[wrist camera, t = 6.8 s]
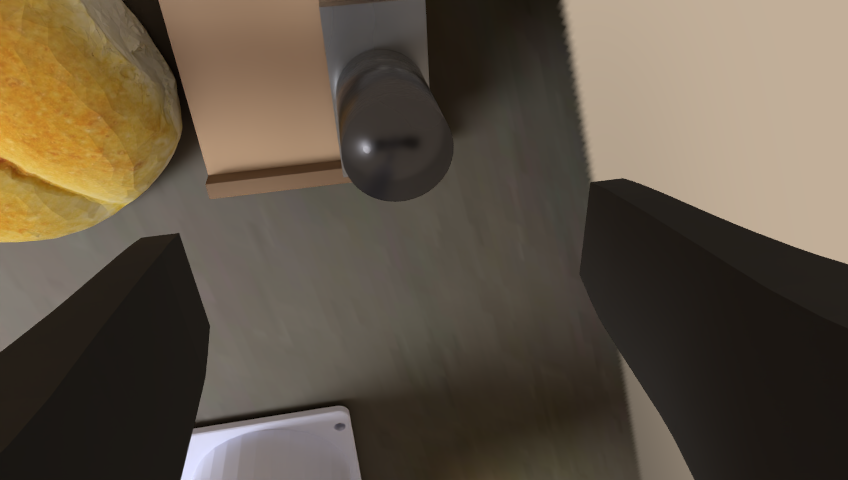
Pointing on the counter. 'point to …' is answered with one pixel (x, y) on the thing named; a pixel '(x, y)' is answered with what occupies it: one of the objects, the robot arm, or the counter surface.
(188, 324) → the robot arm
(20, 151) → the bread roll
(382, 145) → the jaw
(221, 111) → the press bed
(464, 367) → the counter surface
